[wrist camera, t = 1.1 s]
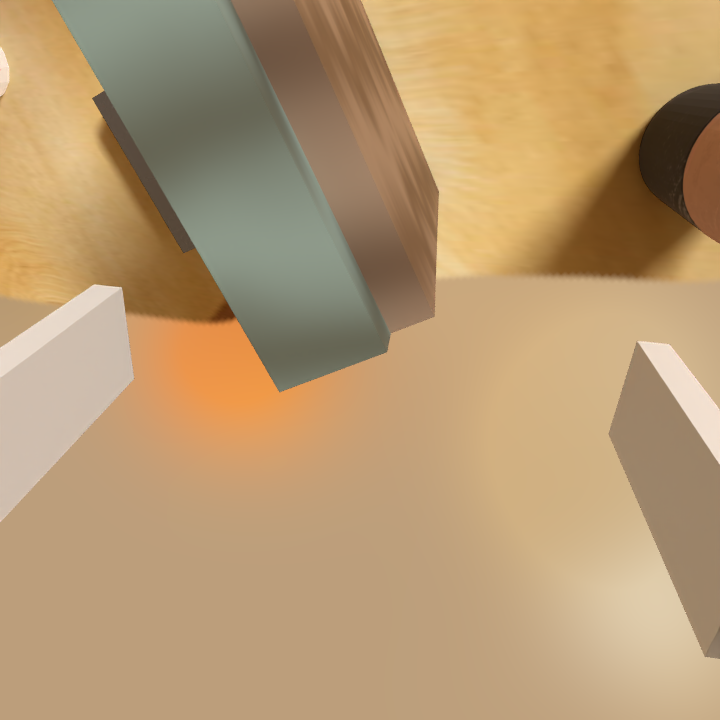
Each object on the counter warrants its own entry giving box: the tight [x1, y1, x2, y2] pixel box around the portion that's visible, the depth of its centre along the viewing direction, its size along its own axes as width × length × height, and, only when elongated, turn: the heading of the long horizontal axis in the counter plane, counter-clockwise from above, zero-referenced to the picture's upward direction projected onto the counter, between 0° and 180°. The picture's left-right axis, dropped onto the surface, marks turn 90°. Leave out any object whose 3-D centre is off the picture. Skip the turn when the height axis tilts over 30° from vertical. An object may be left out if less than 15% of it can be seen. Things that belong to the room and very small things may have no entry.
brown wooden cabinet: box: [52, 0, 439, 392], centre depth 27 cm, size 18×6×24 cm, turn 25°
